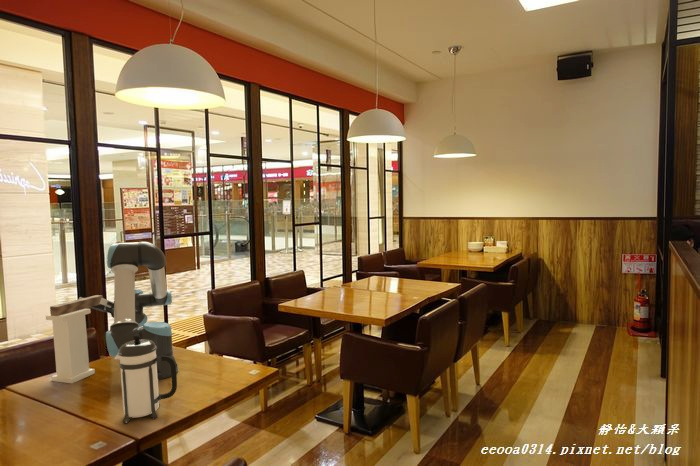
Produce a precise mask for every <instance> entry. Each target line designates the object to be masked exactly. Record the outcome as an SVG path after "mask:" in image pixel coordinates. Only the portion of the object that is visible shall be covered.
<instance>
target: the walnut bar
mask: <svg viewBox="0 0 700 466" xmlns="http://www.w3.org/2000/svg"><path fill="white" fill-rule="evenodd" d="M82 298H83V299H79V298H78V299H75V300H71V301H67V302H63V303H60V304H56V305H52V306H50V307H49V310H50V314H51V316H60V315H64V314H67V313H71V312H74V311H78V310H82V309H90V308H89V307H93V306H96V305H100V301H101V298H104V296H103V295H101V294H100V295H99V294H96V295H92V296H87V297H82Z"/></svg>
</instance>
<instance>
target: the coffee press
mask: <svg viewBox="0 0 700 466" xmlns="http://www.w3.org/2000/svg"><path fill="white" fill-rule="evenodd" d="M133 339H134V340H133V341H129V342H127V343H125V344H123V345H122V346H121V347H120V349H119V351H118V354H117V355H116V357H113V358H114V360H119V361H118V365H119V369H120V381H121V382H120V384H121V396H122V409H123V414H124V417H123V419H122V423H123V424H128V423H129V422H130V420H131V419H134V418H142V417H146V416H150V417H151V419H152V420H155V419H157V418H158V414H157V410H158V409H159V408H160V406H161V404H160V400H165V399H169V398H172V396H173V397H174V395H175V394H176V392H177V388H178V377H177V373H176V365H175V362H174V360H173V359H172V358H171V357H169V356H159V357H157V355H156V349H157V346H156V345H155V343H154V342H153V341H151V340H148V339H140V336H139V335H135V336H134V338H133ZM157 361H167V362H168V363H169V364H170V366H171V376H170V377H171V389H170V391H168V392H166V393H160V391H159V379H158V377H157Z"/></svg>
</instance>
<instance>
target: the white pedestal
mask: <svg viewBox="0 0 700 466" xmlns="http://www.w3.org/2000/svg"><path fill="white" fill-rule="evenodd" d="M91 312H92V311H91V308H85V309H82V310H78V311H74V312H71V313H67V314H64V315H60V316H51V313H50V314H46V315H45V320H46V321H51V322H52V331H53V332H52V333H53V334H52V335H53V345H54V356H55V357H54V358H55V370H56V374H54V375H52V376H50V377H51V378H50V379H51V382H59V383H66V384H75V383H76V382H79V381H81V380H83V379H85V378H87V377H89V376H90V377H91V376H92V375H94V374H96V370H95V368H90V362H89V361H90V359H89V348H88V334H87V321H86V315H89V314H91Z"/></svg>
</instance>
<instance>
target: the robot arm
mask: <svg viewBox="0 0 700 466" xmlns="http://www.w3.org/2000/svg"><path fill="white" fill-rule="evenodd" d="M106 259H107V261H106V264H107V267H108V269H110V272H112V273H113V274H114V287H113V289H114V291H113V292H114V294H113V295H114V297H113V298H114V299H113V300H114V301H111V300H109V299H106V298H104V297H103V298H101V301H100V305H96V306H93V307H89V308H88V309H93V310H96V311H100V312H104V313H107V314H110V316H111V317H112V319H113V323H112V324H111V325H110V326H109V330H106V331H105V343H106V347H107V351H108V354H109V356H110V357H112V358H115V357H116V355H117V354H118V351H119V349H120V347H121V346H122V345H123V344H125V343H127V342H129V341H133V340H134V339H133V338H134V336H135V335H139V336H140V339H148V340H151V341H153V342H154V343H155V345H156V346H157V349H156V355H157V357H159V356H169V357H171V358H172V359H173V360H174V362H175V365H176V374H177V373H178V372H179V366H178V363H177V361H176V358H175V356H174V347H173V331H172V327H171V324H169V323H167V322H163V321H150V322H148V315H147V314H145V313H144V308H149V307H158V306H169V305H171V304H172V302H173V301H172V300H173V297H172V292H171V290H168V287H167V279H166V277H167V276H166V270H165V266H166V265H167V259H166V256H165V253H164V252H163V251H162V250H161V248H159V247H158V246H157V245H156V244H154V243H152V242H149V241H139V242H138V241H137V242H119V243H113V244H111V245H109V247H108V250H107V255H106ZM143 266H144V267H145V268H146V269H147V270H148V275H149V283H150V287H151V288H150V289H151V292H144V290H142V289H138V288H136V282H135V281H136V280H135V279H136V277H135V276H136V273H137V272H138V271H139V267H143ZM83 298H84V297H82V296H80V297H78V300H79V299H83ZM157 377H158V380H163V379H166V378H170V377H171V366H170V364H169V363H168V362H167V361H157Z"/></svg>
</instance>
